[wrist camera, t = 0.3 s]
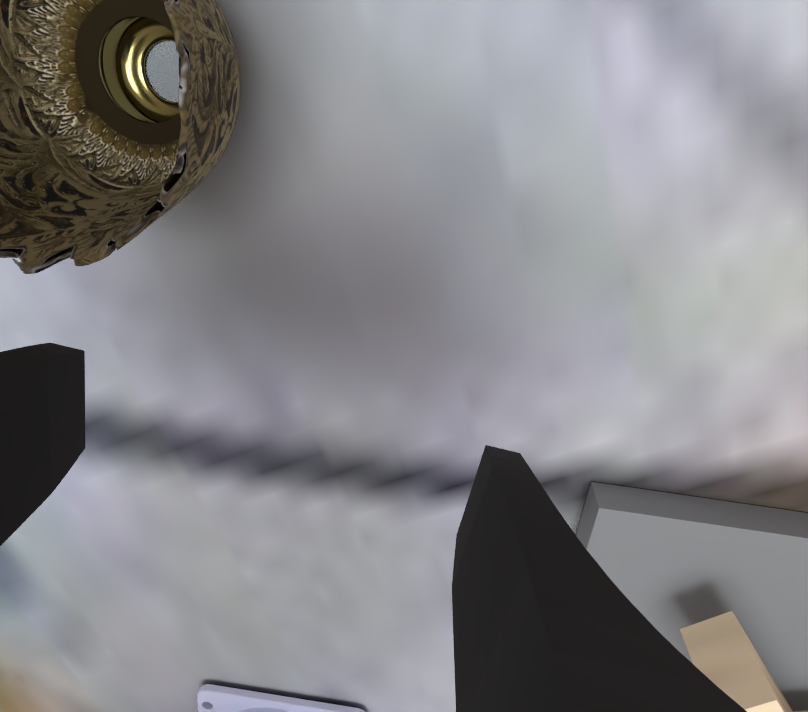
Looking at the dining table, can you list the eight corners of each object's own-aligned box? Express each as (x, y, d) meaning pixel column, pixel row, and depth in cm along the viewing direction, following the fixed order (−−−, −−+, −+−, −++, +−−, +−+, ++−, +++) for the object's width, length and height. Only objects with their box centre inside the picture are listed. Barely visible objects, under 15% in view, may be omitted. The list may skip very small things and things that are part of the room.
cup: (339, 148, 18) (256, 194, 11) (136, 235, 20) (-50, 323, 13) (220, -136, 16) (8, -320, 8) (-1, -9, 17) (-335, -70, 10)
